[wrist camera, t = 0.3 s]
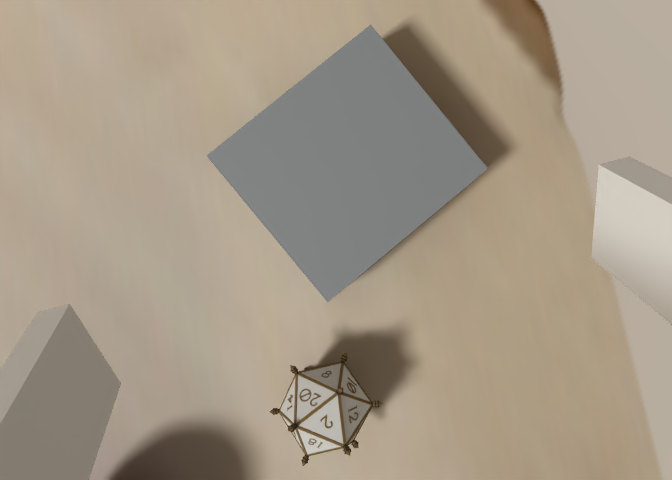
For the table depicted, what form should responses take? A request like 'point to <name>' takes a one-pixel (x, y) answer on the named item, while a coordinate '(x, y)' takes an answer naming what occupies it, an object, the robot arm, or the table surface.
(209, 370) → the table surface
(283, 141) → the plinth
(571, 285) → the table surface
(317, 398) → the game die
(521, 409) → the table surface
